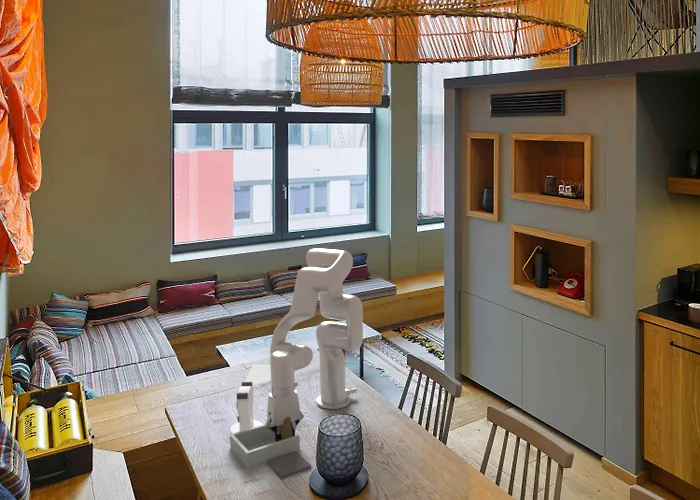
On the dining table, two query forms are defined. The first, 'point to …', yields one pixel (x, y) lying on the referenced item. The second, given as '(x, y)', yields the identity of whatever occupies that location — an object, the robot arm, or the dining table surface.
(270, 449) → the box
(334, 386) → the robot arm
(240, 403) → the white upright piece
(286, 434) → the cork
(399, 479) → the dining table surface
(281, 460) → the charcoal mat
